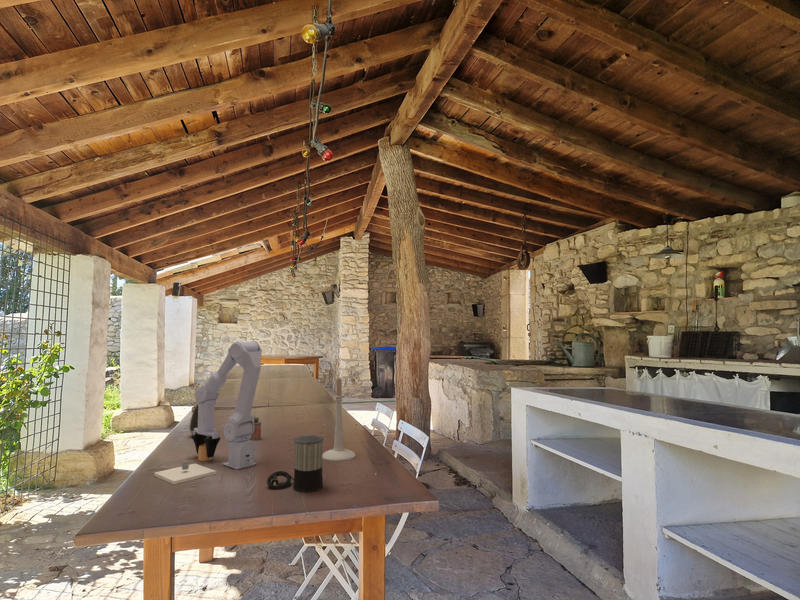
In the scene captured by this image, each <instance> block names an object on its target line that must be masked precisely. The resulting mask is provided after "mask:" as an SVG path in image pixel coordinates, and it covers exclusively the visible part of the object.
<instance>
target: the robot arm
mask: <svg viewBox="0 0 800 600" xmlns="http://www.w3.org/2000/svg"><path fill="white" fill-rule="evenodd" d="M227 353H228V354H227V355H226V357H225V358H224V360H223V362H222V364H221V365H220V366H219V367H218V368H219V369H218V370H214V371H212V372H211V373H210V374H209V377H208V378H207V380H206V381H205V382H204V383H203V385H201V386H197V387H196V390H195V392H194V398H195V400H196V401H197V405H198V428H194V433H195V435H192V434H191V439H192V441H193V443H194V445H195V450H196V454H197V455H198V448H199V446H200V445H203V444H206V449H207V457H208V458H210V457H212V458H213V457H214V456H215V453H216V449H217V446H218V444H219V442H220V441H221V437H220V436H219V432H218V429H217V428H216V427H215V407H216V406H215V405H217V400H218V397H219V391H220V390H221V388H222V387H223V386H224V384H225V383H226V381H227V375H228V374H229V373H230V372H231V371H232V370H233V368H234V367H235V366H236V364H238V366H240V367H241V368H242V369H243V373H242V378H241V382H240V386H239V392H238V395H237V400H236V403H235V409H234V412H233V413H232V414H231V415H229V417H228V418H227V422H226V423H225V425H224V426H223V435H224V438H225V439H226V441H227V442H228V446H227V448H228V449H227V451H228V452H227V453H228V454H227V461H226V462H223V463H222V465H223V466H226V467H229V468H232V469H235V470H240V469H241V470H242V469H243V468H248V467H253V466H256V465H257V464H258V463H257V462H255V459H256V458H255V457H256V455H255V453H256V452H255V451H256V447H255V445H254V443H253V442H252V441H251V440H250V439H249V438H251V434H252V433H253V432H254V419H255V418H254V417H253V416H254V415H253V414H252V408H253V405H254V398H255V396H256V391H257V386H258V382H259V377H260V373H261V368H262V366H261V365H262V363H261V358H262V354H263V349H262V346H261V345H260V344H259V342H257V341H256V340H251V341H233V342H232V343H231V345H230V347H229V348H228V349H227ZM255 464H256V465H255Z"/></svg>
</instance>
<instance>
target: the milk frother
mask: <svg viewBox="0 0 800 600" xmlns="http://www.w3.org/2000/svg"><path fill="white" fill-rule="evenodd" d="M324 439H325V438H324V437H323V436H320V435H314V434H313V435H300V436H298V437H295V438H294V439H293V442H294V463H293V464H294V467H293V468H294V469H293V472H294V473H293V474H294V475H293V476H292V475H291V474H290V473H288V472H287V471H282V470H279V471H275V472H273V473H271V474H270V475H269V476H268V477H267V479H266V484H267V486H268V487H269V488H272V489H282V488H283V489H284V488H286V487H288V486H289V485H290V483H291V481H293V486H292V489H293V490H294V491H296V492H300V491H301V493H302V492H303V493H309V492H308V491H312V492H315V490H316V491H319V490H321V489H323V487H324V481H323V479H324V478H323V462H324V461H323V453H324V451H323V450H324V449H323V447H324V446H323V445H324V444H323V441H324ZM278 477H284V478H285V479H286V481H285V482H283V483H279V479H278ZM318 489H319V490H318Z"/></svg>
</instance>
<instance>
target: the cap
mask: <svg viewBox="0 0 800 600" xmlns="http://www.w3.org/2000/svg"><path fill="white" fill-rule="evenodd" d="M212 459H213V457H210V458H208V457H207V449H206V444H203V445H200V446H199V448H198V454H197V460H198V461H200V462H207V461H212Z"/></svg>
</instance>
